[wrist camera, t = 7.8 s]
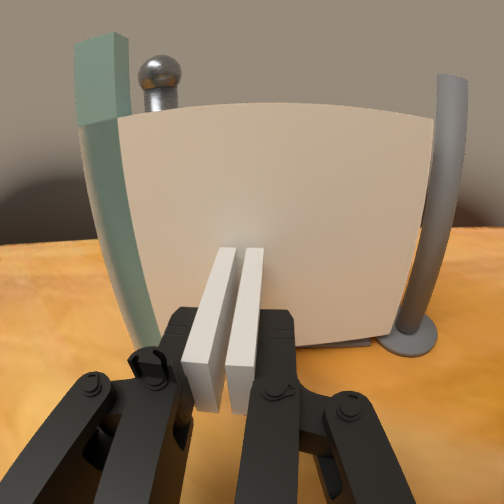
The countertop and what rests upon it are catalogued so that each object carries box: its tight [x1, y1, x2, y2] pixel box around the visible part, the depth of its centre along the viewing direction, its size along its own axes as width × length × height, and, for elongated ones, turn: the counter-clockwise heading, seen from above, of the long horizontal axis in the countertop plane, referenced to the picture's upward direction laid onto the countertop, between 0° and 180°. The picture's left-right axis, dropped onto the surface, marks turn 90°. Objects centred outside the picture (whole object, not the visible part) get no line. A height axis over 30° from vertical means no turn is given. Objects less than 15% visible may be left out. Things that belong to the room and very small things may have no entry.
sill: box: [295, 306, 437, 357], centre depth 19 cm, size 20×5×1 cm, turn 85°
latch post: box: [138, 55, 182, 113], centre depth 18 cm, size 4×4×18 cm
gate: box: [74, 32, 468, 350], centre depth 13 cm, size 19×2×17 cm, turn 93°
